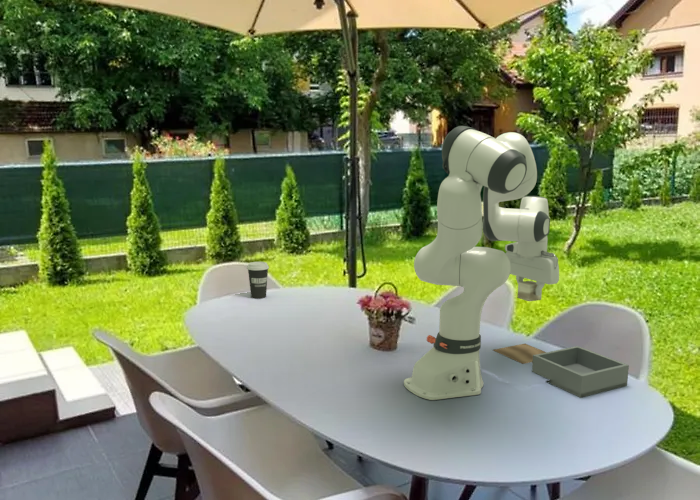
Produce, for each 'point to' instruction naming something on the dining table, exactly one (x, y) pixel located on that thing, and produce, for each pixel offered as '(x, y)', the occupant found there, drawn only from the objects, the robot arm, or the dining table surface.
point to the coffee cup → (258, 279)
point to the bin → (580, 371)
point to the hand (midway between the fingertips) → (529, 292)
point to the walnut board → (520, 352)
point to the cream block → (527, 291)
